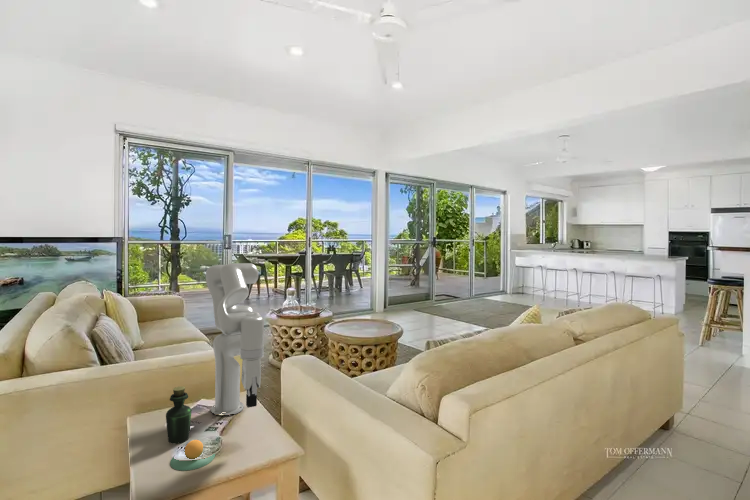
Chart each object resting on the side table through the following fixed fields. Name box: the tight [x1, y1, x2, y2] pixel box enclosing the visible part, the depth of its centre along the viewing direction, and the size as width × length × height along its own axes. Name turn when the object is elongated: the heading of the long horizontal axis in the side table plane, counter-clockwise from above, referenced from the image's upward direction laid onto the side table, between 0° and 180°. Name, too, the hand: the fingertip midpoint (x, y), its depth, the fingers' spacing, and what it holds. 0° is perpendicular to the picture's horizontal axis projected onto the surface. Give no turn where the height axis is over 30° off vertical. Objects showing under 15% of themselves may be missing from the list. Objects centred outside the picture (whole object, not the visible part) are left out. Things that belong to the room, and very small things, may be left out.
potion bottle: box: [165, 385, 193, 445], centre depth 136 cm, size 8×8×18 cm
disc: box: [169, 453, 216, 472], centre depth 125 cm, size 13×13×1 cm
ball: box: [183, 439, 204, 459], centre depth 125 cm, size 6×6×6 cm
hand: (251, 405), depth 134 cm, fingers closed
